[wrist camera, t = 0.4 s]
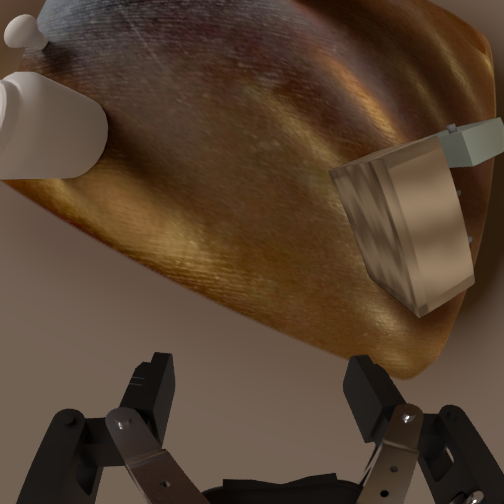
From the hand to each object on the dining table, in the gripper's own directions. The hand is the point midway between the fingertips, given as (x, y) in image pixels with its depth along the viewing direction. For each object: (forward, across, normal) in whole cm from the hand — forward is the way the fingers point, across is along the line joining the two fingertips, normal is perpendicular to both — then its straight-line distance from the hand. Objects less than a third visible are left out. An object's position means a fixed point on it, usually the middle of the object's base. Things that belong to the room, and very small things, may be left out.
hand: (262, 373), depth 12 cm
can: (+31, +26, -13) cm, 43 cm away
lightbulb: (+33, +38, -33) cm, 60 cm away
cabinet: (+27, -23, -5) cm, 36 cm away
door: (+28, -27, -15) cm, 42 cm away
